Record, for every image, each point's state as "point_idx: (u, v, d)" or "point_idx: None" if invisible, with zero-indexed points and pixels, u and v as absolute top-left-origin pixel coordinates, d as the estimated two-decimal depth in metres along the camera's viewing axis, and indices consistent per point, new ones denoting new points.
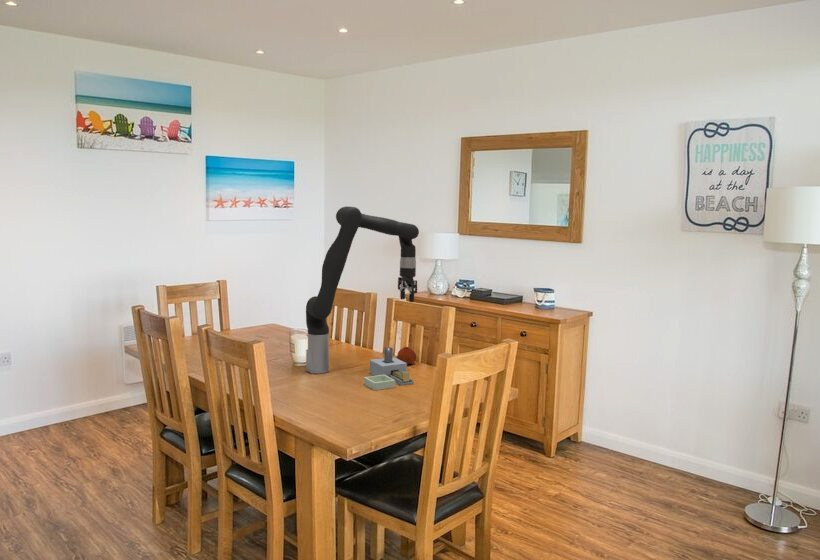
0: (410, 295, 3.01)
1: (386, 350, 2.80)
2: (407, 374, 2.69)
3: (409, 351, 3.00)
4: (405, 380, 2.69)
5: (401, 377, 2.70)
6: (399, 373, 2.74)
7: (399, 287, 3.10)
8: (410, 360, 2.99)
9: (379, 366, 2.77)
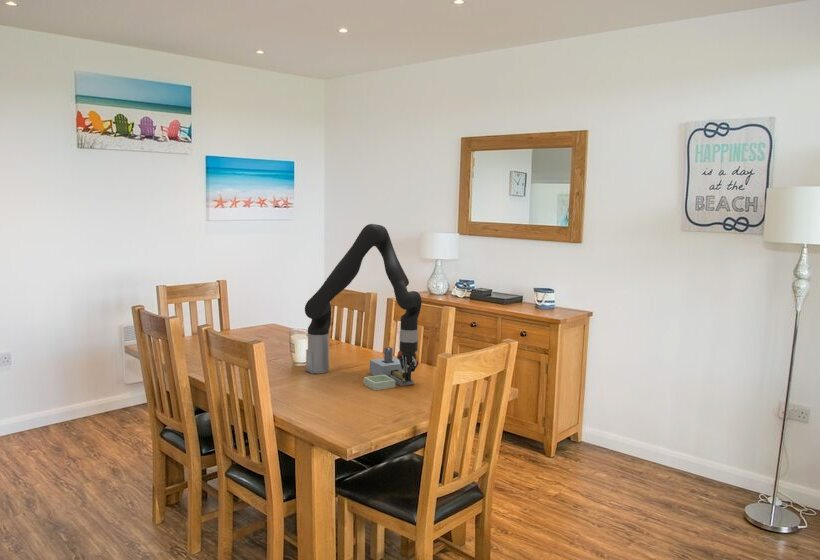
0: (406, 373, 2.66)
1: (386, 350, 2.80)
2: None
3: None
4: (404, 380, 2.70)
5: (400, 377, 2.70)
6: (398, 373, 2.74)
7: (403, 366, 2.68)
8: None
9: (379, 366, 2.77)
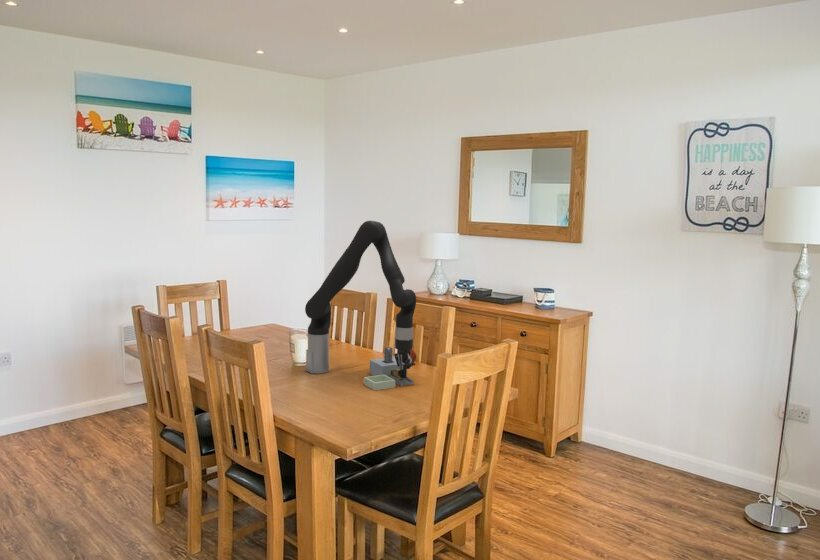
0: (402, 371, 2.70)
1: (386, 350, 2.80)
2: None
3: None
4: (400, 377, 2.73)
5: (396, 374, 2.74)
6: (394, 370, 2.78)
7: None
8: None
9: (379, 366, 2.77)
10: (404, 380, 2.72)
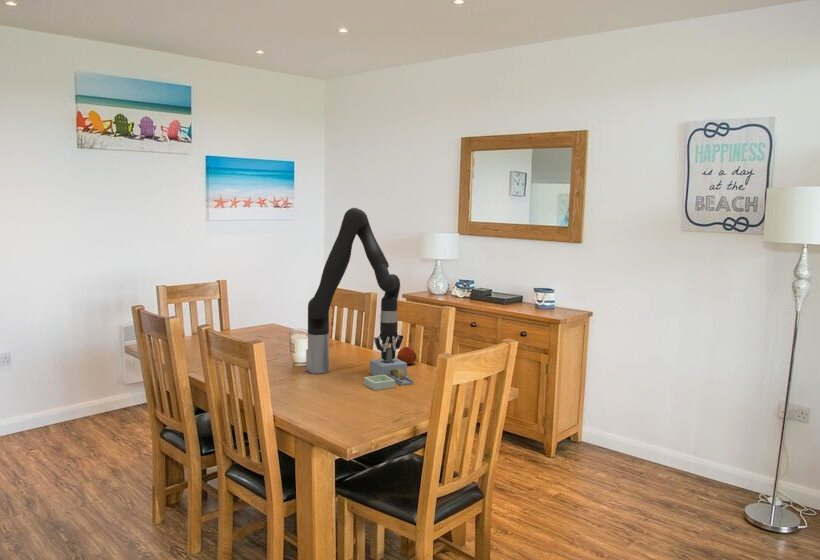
0: None
1: (386, 350, 2.80)
2: (402, 371, 2.73)
3: (409, 351, 3.00)
4: (400, 377, 2.73)
5: (396, 374, 2.74)
6: (394, 370, 2.78)
7: (394, 345, 2.84)
8: (410, 360, 2.99)
9: (379, 366, 2.77)
10: (404, 380, 2.72)
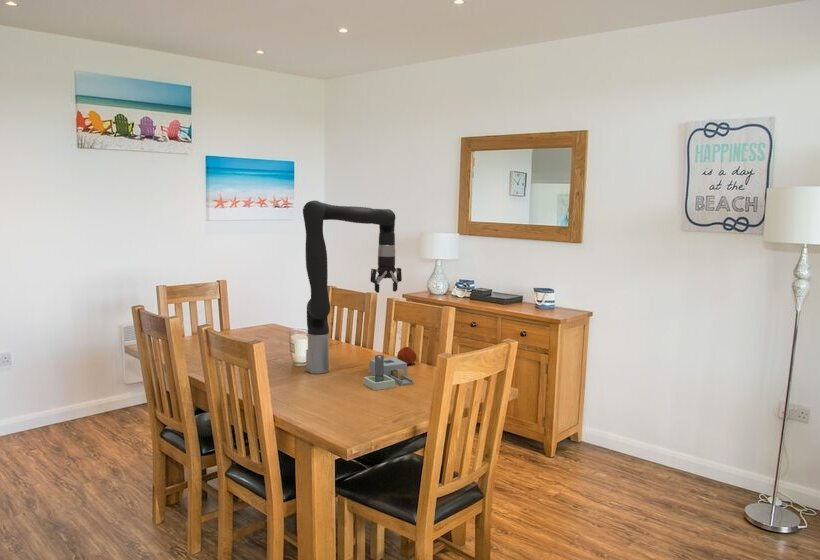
0: None
1: (377, 358, 2.64)
2: (402, 371, 2.73)
3: (409, 351, 3.00)
4: (400, 377, 2.73)
5: (396, 374, 2.74)
6: (394, 370, 2.78)
7: None
8: (410, 360, 2.99)
9: None
10: (404, 380, 2.72)
